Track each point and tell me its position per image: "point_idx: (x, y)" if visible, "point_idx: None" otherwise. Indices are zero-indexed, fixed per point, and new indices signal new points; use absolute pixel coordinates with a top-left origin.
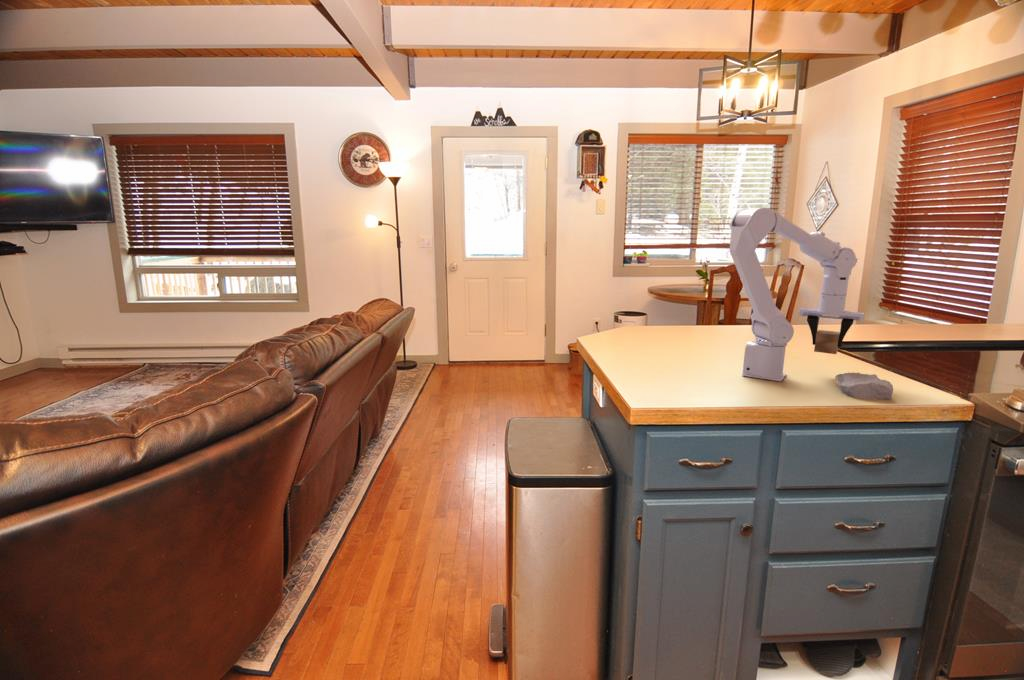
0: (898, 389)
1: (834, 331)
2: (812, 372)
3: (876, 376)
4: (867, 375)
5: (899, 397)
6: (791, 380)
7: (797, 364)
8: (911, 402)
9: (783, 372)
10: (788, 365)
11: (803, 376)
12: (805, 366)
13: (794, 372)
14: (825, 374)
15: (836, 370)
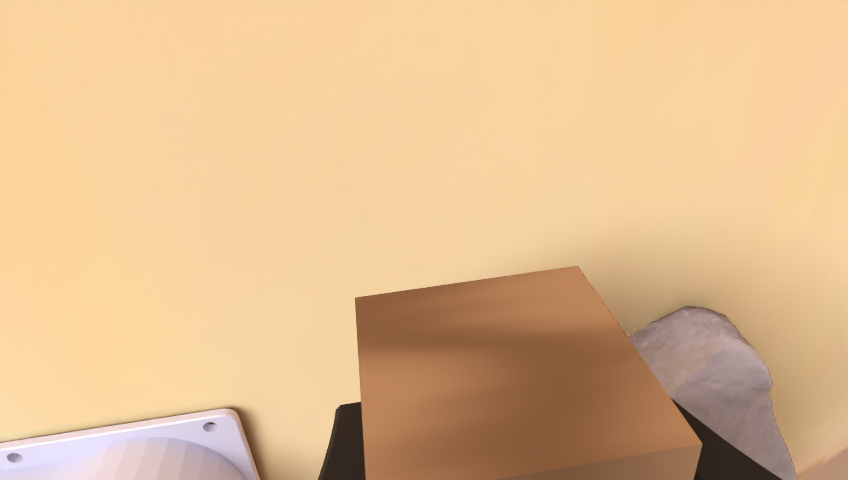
0: (840, 277)
1: (618, 464)
2: (354, 225)
3: (765, 393)
4: (717, 412)
5: (797, 405)
6: (307, 472)
7: (147, 15)
8: (824, 438)
9: (215, 417)
10: (106, 121)
11: (335, 362)
12: (241, 51)
13: (250, 309)
14: (447, 219)
15: (507, 19)
